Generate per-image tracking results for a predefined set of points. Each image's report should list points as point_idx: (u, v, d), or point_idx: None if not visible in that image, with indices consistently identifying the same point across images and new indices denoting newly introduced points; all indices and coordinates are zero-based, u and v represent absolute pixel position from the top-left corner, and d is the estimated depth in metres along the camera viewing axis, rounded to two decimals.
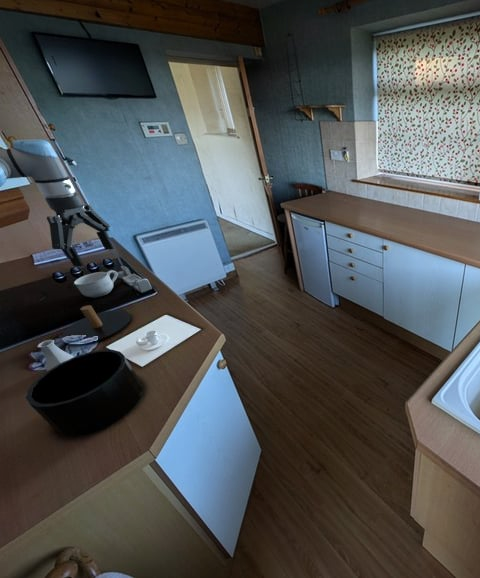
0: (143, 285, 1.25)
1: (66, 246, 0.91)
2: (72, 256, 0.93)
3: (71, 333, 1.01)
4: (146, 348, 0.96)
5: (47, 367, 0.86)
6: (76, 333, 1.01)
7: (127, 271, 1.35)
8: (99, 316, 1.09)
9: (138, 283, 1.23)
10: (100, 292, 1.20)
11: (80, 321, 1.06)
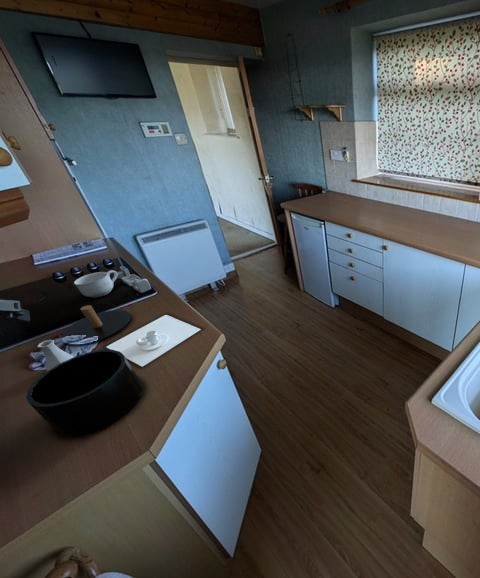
0: (143, 285, 1.25)
1: None
2: None
3: (71, 333, 1.01)
4: (146, 348, 0.96)
5: (47, 367, 0.86)
6: (76, 333, 1.01)
7: (126, 271, 1.35)
8: (99, 316, 1.09)
9: (137, 283, 1.23)
10: (100, 292, 1.20)
11: (80, 321, 1.06)
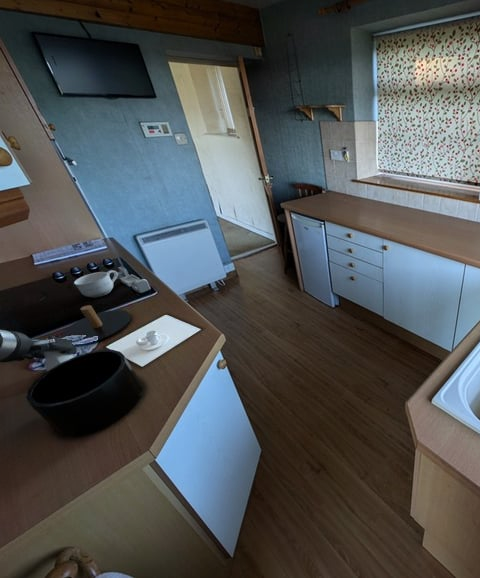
0: (142, 285, 1.25)
1: None
2: None
3: (71, 333, 1.01)
4: (146, 348, 0.96)
5: (47, 367, 0.86)
6: (76, 333, 1.01)
7: (125, 272, 1.35)
8: (99, 316, 1.09)
9: (137, 283, 1.23)
10: (100, 292, 1.20)
11: (80, 321, 1.06)
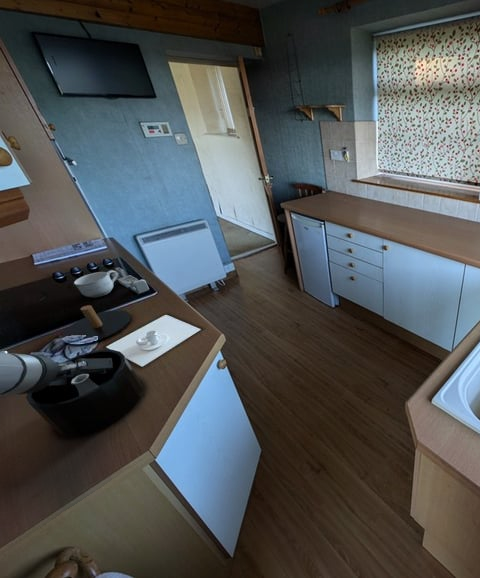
0: (141, 285, 1.24)
1: None
2: None
3: (71, 333, 1.01)
4: (146, 348, 0.96)
5: None
6: (76, 333, 1.01)
7: (122, 273, 1.34)
8: (99, 316, 1.09)
9: (135, 284, 1.23)
10: (100, 292, 1.20)
11: (80, 321, 1.06)
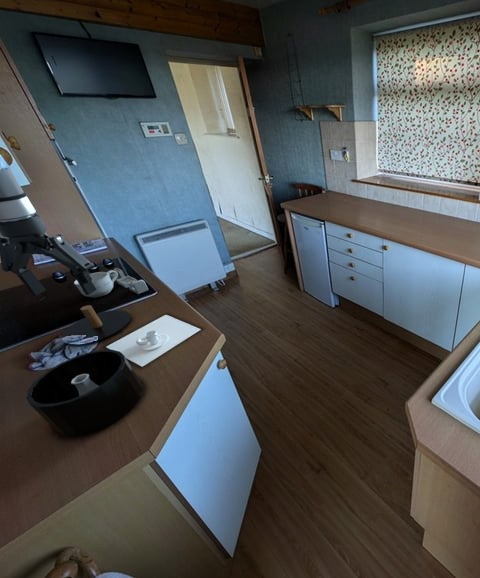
0: (140, 286, 1.24)
1: None
2: None
3: (71, 333, 1.01)
4: (146, 348, 0.96)
5: None
6: (76, 333, 1.01)
7: (121, 273, 1.34)
8: (99, 316, 1.09)
9: (135, 284, 1.22)
10: (100, 292, 1.20)
11: (80, 321, 1.06)
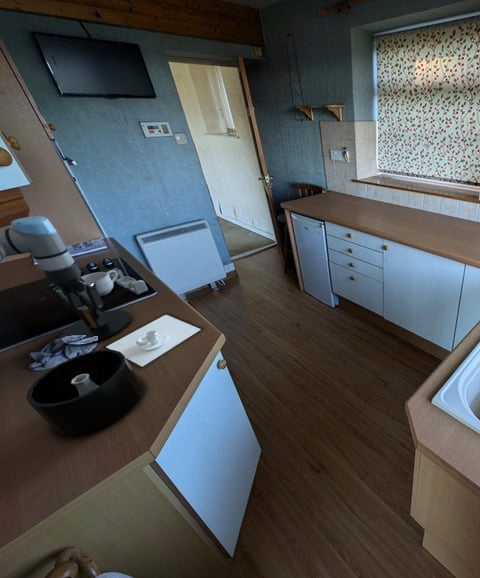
0: (139, 286, 1.24)
1: None
2: None
3: (71, 333, 1.01)
4: (146, 348, 0.96)
5: None
6: (76, 333, 1.01)
7: (120, 273, 1.33)
8: None
9: (134, 285, 1.22)
10: (100, 292, 1.20)
11: (80, 321, 1.06)
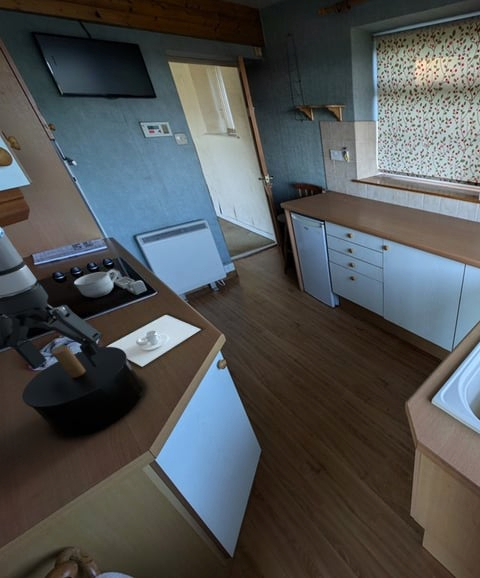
0: (138, 286, 1.24)
1: None
2: None
3: (38, 387, 0.68)
4: (146, 348, 0.96)
5: None
6: (46, 387, 0.68)
7: (118, 274, 1.33)
8: (82, 357, 0.77)
9: (133, 285, 1.22)
10: (100, 292, 1.20)
11: (54, 366, 0.74)
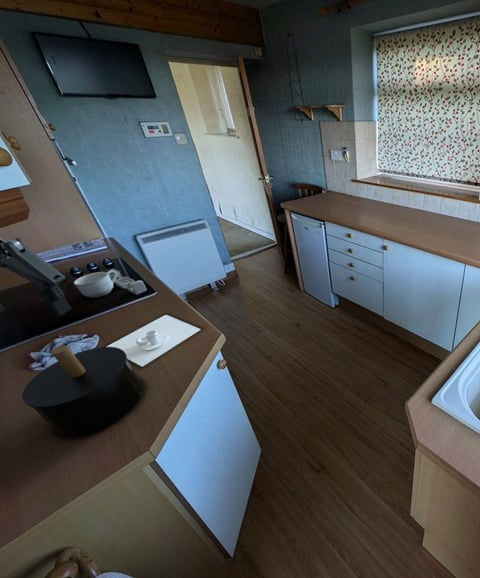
0: (138, 286, 1.24)
1: None
2: None
3: (38, 387, 0.68)
4: (146, 348, 0.96)
5: None
6: (46, 387, 0.68)
7: (118, 274, 1.33)
8: (82, 357, 0.77)
9: (133, 285, 1.22)
10: (100, 292, 1.20)
11: (54, 366, 0.74)
